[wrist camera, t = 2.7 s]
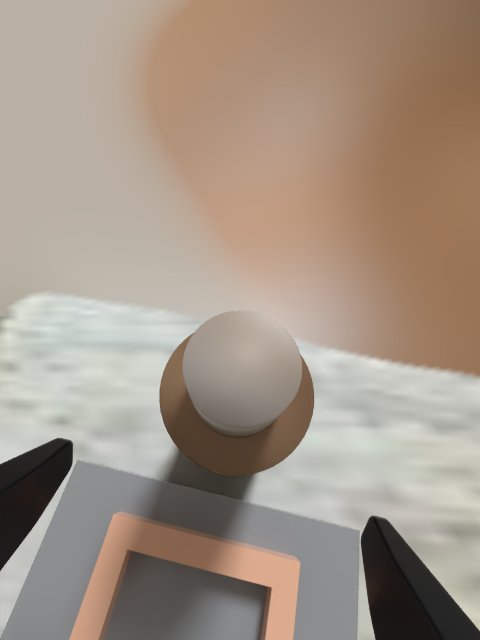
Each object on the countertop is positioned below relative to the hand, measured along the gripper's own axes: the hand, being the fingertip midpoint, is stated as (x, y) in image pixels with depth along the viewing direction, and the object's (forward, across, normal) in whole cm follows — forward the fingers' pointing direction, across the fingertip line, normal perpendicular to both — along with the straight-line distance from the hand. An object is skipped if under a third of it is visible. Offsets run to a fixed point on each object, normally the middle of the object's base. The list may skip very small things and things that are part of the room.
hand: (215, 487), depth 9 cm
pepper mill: (+9, 0, +5) cm, 10 cm away
